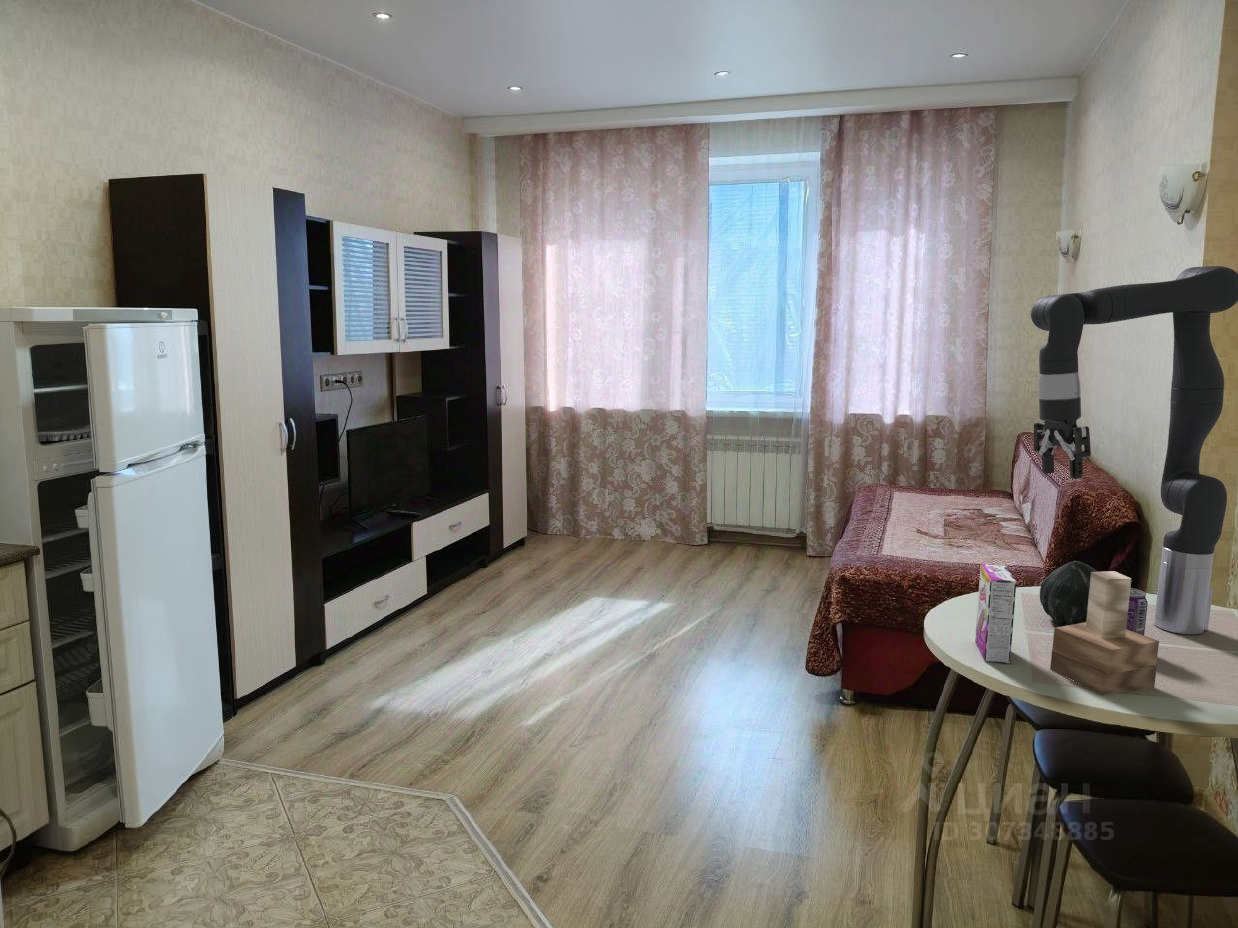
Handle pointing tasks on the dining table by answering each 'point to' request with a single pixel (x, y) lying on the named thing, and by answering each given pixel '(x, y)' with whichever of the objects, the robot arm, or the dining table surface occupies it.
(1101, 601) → the birch block
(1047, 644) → the dining table surface
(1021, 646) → the dining table surface
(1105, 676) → the lower slab
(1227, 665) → the dining table surface
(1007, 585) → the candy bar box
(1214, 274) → the robot arm
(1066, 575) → the squash
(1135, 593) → the beverage can
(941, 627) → the dining table surface
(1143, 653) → the upper slab
